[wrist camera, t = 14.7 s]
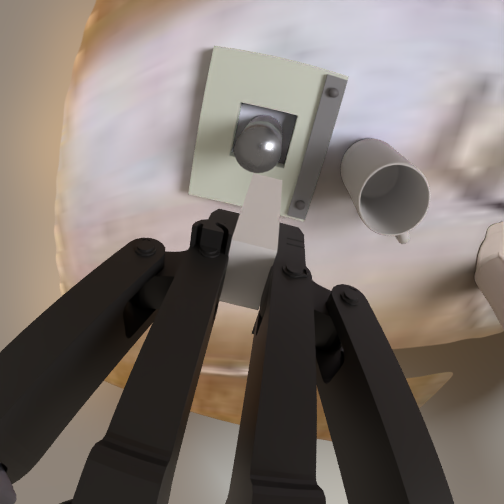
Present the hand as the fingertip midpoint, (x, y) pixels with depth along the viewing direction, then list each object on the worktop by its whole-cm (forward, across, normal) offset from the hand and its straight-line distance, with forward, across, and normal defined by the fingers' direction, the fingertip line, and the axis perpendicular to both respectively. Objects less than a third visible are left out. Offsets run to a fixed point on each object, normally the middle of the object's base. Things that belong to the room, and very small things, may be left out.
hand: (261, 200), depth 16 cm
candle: (+25, +43, -8) cm, 50 cm away
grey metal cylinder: (+24, -1, -2) cm, 24 cm away
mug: (+25, +15, -3) cm, 29 cm away
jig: (+24, -1, -2) cm, 24 cm away
